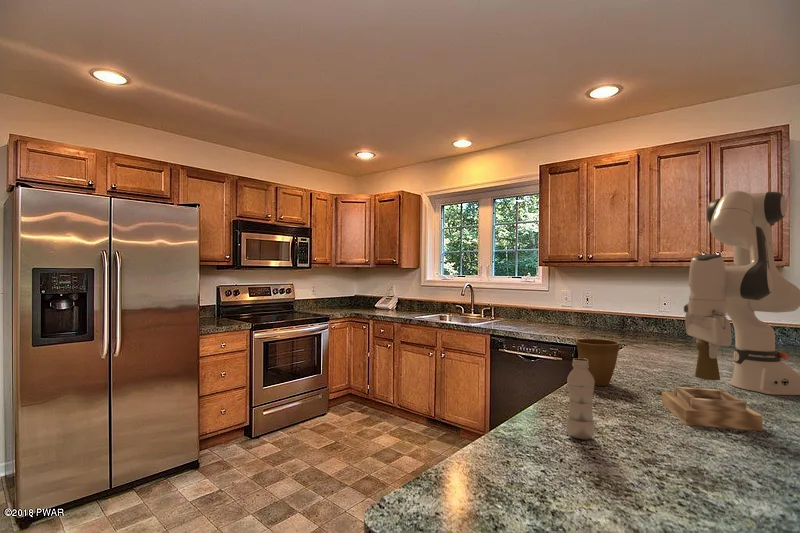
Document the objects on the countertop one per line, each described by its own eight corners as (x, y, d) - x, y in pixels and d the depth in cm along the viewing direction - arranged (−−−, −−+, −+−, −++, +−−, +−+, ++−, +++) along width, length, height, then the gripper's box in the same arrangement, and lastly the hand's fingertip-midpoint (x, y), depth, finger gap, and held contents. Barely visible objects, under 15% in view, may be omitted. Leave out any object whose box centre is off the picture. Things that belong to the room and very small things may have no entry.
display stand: (727, 409, 127) (727, 388, 127) (762, 431, 110) (762, 406, 110) (662, 404, 132) (662, 383, 132) (685, 424, 114) (685, 401, 114)
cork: (725, 380, 117) (725, 342, 118) (702, 379, 118) (702, 341, 118) (712, 375, 123) (712, 338, 124) (690, 374, 124) (690, 338, 124)
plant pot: (621, 381, 159) (620, 340, 159) (617, 391, 146) (617, 346, 146) (579, 376, 167) (579, 336, 167) (572, 384, 154) (572, 342, 154)
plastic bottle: (562, 433, 109) (561, 357, 109) (586, 432, 109) (586, 356, 109) (574, 443, 102) (574, 362, 102) (600, 442, 103) (600, 362, 103)
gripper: (738, 312, 110) (739, 364, 110) (703, 306, 130) (703, 350, 130) (711, 312, 112) (712, 362, 112) (681, 306, 132) (681, 349, 132)
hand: (707, 356), depth 121 cm, fingers closed on cork, 4 cm apart
